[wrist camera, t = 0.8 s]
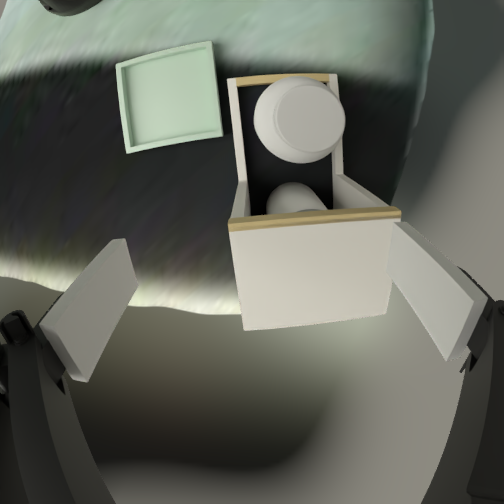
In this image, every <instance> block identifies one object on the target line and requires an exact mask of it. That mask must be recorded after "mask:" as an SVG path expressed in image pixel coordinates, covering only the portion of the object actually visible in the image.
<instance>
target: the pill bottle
mask: <svg viewBox="0 0 504 504" xmlns="http://www.w3.org/2000/svg"><path fill="white" fill-rule="evenodd" d="M254 126H255V130H256V132H257V135H258V136H259V138H260V140H261V142H262V143H263V144H264V146H265V147H266V148H267V149H268V150H269V151H270V152H272V153H273V154H274V155H276V156H277V157H279V158H281V159H283V160H286V161H289V162H294V163H309V162H314V161H317V160H320V159H322V158H324V157H325V156H327V155H328V154H329V153H331V152H332V151H333V150H334V149H335V148H336V146H337V145H338V143H339V142H340V140H341V138H342V135H343V132H344V129H345V128H344V127H345V114H344V109H343V107H342V105H341V103H340V101H339V99H338V97H337V96H336V95H335V93H334V92H333V91H332V90H331V89H330V88H329V87H327V86H326V85H325V84H323V83H322V82H320V81H318V80H315V79H313V78H309V77H304V76H291V77H286V78H283V79H280V80H278V81H276V82H274V83H273V84H271V85H270V86H269V87H268V88H267V89H266V90H265V91H264V92H263V93H262V95H261V96H260V98H259V100H258V102H257V104H256V108H255V113H254Z"/></svg>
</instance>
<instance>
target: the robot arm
mask: <svg viewBox="0 0 504 504" xmlns="http://www.w3.org/2000/svg"><path fill="white" fill-rule="evenodd" d="M39 1H40V3H41V4H42V5H43V6H44V8H45V9H46V10H47V11H49V12H51V13H53V14H56V15H59V16H71V15H75V14H78V13H81V12H83V11H85V10H87V9H89V8H91V7H92V6H94V5H95V4H97V3H98V2H100V1H101V0H39ZM386 272H387V273H388V275H389V276H390V277H391V279H392V280H393V281H394V283H395V284H396V286H397V287H398V288H399V290H400V291H401V292H402V294H403V295H404V297H405V298H406V300H407V301H408V302H409V304H410V305H411V307H412V308H413V310H414V311H415V313H416V314H417V316H418V317H419V319H420V320H421V322H422V323H423V325H424V327H425V328H426V330H427V331H428V333H429V334H430V336H431V338H432V339H433V341H434V342H435V344H436V346H437V347H438V349H439V351H440V352H441V354H442V355H443V357H444V359H445V361H446V362H447V361H450V360H454V359H456V358H460V357H461V355H462V353H463V351H464V350H465V348H466V346H468V347H469V349H470V350H471V352H470V354H469V356H468V357H467V359H466V361H465V363H464V364H463V367H462V368H461V370H460V373H462V371H463V370H464V369H465V368H466V369H465V375H464V380H463V385H462V389H461V394H460V398H459V402H458V406H457V410H456V414H455V417H454V421H453V425H452V428H451V431H450V434H449V437H448V440H447V443H446V447H445V449H444V452H443V454H442V457H441V460H440V462H439V465H438V467H437V470H436V472H435V475H434V477H433V479H432V481H431V484H430V486H429V488H428V490H427V493H426V494H425V496H424V498H423V501H422V503H421V504H504V301H503V300H498V301H496V302H495V301H494V300H493V299H492V298H491V297H490V296H489V295H488V294H487V292H486V291H485V290H484V289H483V288H482V287H481V286H480V285H479V284H477V282H476V281H475V280H474V279H472V278H471V276H470V275H469V274H468V273H467V272H466V271H464V270H463V269H461V268H459V267H458V266H456V265H455V264H454V263H453V262H452V261H451V260H450V259H448V258H447V257H446V256H445V255H444V254H443V253H442V252H441V251H440V250H439V249H437V248H436V247H435V246H434V245H433V244H432V243H431V242H430V241H428V240H427V239H426V238H425V237H424V236H423V235H421V234H420V233H419V232H418V231H417V230H416V229H414V228H413V227H412V226H411V225H409V224H408V223H407V222H393V228H392V236H391V243H390V249H389V256H388V262H387V267H386ZM137 287H138V283H137V280H136V276H135V273H134V270H133V266H132V263H131V259H130V255H129V252H128V248H127V244H126V240H125V239H115V240H112V241H111V242H110V243H109V244H108V245H107V246H106V247H105V248H104V249H103V250H102V251H101V252H100V253H99V254H98V255H97V256H96V257H95V258H94V259H93V261H92V262H91V263H90V264H89V265H88V266H87V267H86V268H85V269H84V270H83V272H82V273H81V274H80V275H79V276H78V277H77V278H76V280H75V281H74V282H73V283H72V284H71V285H70V286H69V288H68V289H67V290H66V291H65V292H64V293H63V294H61V295H60V296H59V297H58V298H57V299H56V301H55V302H54V303H53V305H51V307H50V308H49V311H47V312H46V313H45V315H44V316H43V317H42V318H41V319H40V321H39V322H38V323H37V325H36V326H35V327H34V328H32V326H31V325H30V322H29V321H28V319H27V317H26V315H25V313H24V312H23V311H22V310H16V311H13V312H11V313H9V314H7V315H6V316H5V317H4V318H3V319H2V320H1V321H0V332H1V334H2V336H3V337H4V339H5V340H6V342H7V344H1V342H0V386H1V387H2V389H3V391H2V394H1V393H0V504H116V503H115V501H114V500H113V498H112V496H111V494H110V492H109V491H108V489H107V487H106V485H105V483H104V481H103V479H102V477H101V475H100V473H99V471H98V468H97V466H96V464H95V462H94V459H93V457H92V455H91V453H90V450H89V448H88V445H87V443H86V441H85V438H84V435H83V433H82V430H81V427H80V424H79V421H78V419H77V416H76V413H75V410H74V406H73V403H72V400H71V397H70V393H69V390H68V386H67V382H66V380H65V378H64V377H63V376H62V375H63V373H64V371H65V369H66V370H67V372H68V373H69V375H70V376H71V377H72V379H74V380H79V381H84V382H88V380H89V378H90V376H91V374H92V372H93V370H94V368H95V366H96V364H97V361H98V360H99V357H100V356H101V354H102V352H103V350H104V348H105V346H106V344H107V342H108V340H109V338H110V336H111V334H112V332H113V330H114V329H115V327H116V325H117V323H118V321H119V319H120V317H121V316H122V314H123V312H124V310H125V308H126V307H127V305H128V303H129V301H130V299H131V298H132V296H133V294H134V292H135V291H136V289H137Z"/></svg>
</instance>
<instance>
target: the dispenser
mask: <svg viewBox="0 0 504 504" xmlns="http://www.w3.org/2000/svg"><path fill="white" fill-rule="evenodd" d="M291 76H304V77H309V78H313V79H315V80H318V81H320V82H322V83H327V87H329V88H330V89H331V90H332V91H333V92H334V93H335V95H336V96H337V97H338V99H339V91H338V81H337V74H276V75H261V76H249V77H239V78H231V79H227V83H228V92H229V101H230V110H231V118H232V127H233V136H234V144H235V153H236V161H237V170H238V178H239V183H238V187H237V192H236V196H235V201H234V205H233V210H232V214H231V218H229V221H228V229H229V236H230V242H231V249H232V256H233V263H234V270H235V276H236V283H237V289H238V296H239V302H240V308H241V315H242V321H243V327H244V331H247V330H260V329H273V328H283V327H294V326H303V325H312V324H321V323H328V322H337V321H343V320H350V319H357V318H363V317H370V316H377V315H383V314H386V312H387V307H388V302H389V297H390V292H391V287H392V281H393V280H392V279H391V277H390V276H389V275H388V273H387V272H386V267H387V262H388V256H389V249H390V243H391V236H392V228H393V222H401V210H399V209H398V208H397V207H395V206H389V205H387V204H386V203H385V202H383V201H382V200H380V199H379V198H378V197H376V196H375V195H373V194H372V193H371V192H369V191H368V190H366V189H365V188H363V187H362V186H360V185H359V184H357V183H356V182H354V181H353V180H351V179H350V178H348V177H347V176H345V175H344V174H343V150H342V138H341V140H340V142H339V143H338V145H337V146H336V148H335V149H334V150H333V151H332V172H333V210H328V209H327V208H326V207H325V205H324V204H323V203H322V202H321V200H320V199H319V198H318V197H317V195H316V194H315V193H314V192H313V191H312V190H311V189H310V188H309V187H308V186H306V185H304V184H302V183H298V182H289V183H285V184H282V185H280V186H278V187H277V188H276V189H274V190H273V191H272V193H271V194H270V196H269V198H268V200H267V204H266V212H267V215H258V216H251V207H250V198H249V189H248V180H247V171H246V162H245V153H244V144H243V135H242V126H241V117H240V108H239V99H238V90H237V87H244V86H254V85H266V84H273V83H274V82H276V81H278V80H280V79H283V78H286V77H291Z"/></svg>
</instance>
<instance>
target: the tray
mask: <svg viewBox="0 0 504 504" xmlns="http://www.w3.org/2000/svg"><path fill="white" fill-rule="evenodd" d="M116 75H117V86H118V96H119V104H120V113H121V120H122V127H123V134H124V141H125V147H126V153H132V152H136V151H140V150H145V149H150V148H154V147H159V146H165V145H170V144H175V143H181V142H187V141H193V140H199V139H206V138H213V137H220V136H224V134H223V125H222V117H221V109H220V100H219V91H218V82H217V73H216V64H215V55H214V46H213V43H212V41H205V42H199V43H194V44H189V45H184V46H179V47H175V48H171V49H166V50H162V51H158V52H155V53H151V54H147V55H144V56H140V57H137V58H134V59H131V60H128V61H125V62H122V63H119V64H116Z"/></svg>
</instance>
